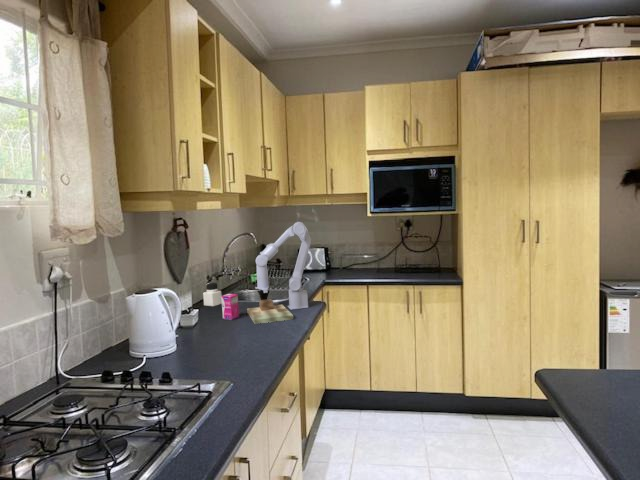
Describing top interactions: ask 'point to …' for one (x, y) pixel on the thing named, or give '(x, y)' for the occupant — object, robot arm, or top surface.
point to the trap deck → (269, 314)
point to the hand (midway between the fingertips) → (264, 304)
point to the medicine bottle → (212, 295)
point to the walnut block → (266, 304)
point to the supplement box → (230, 306)
